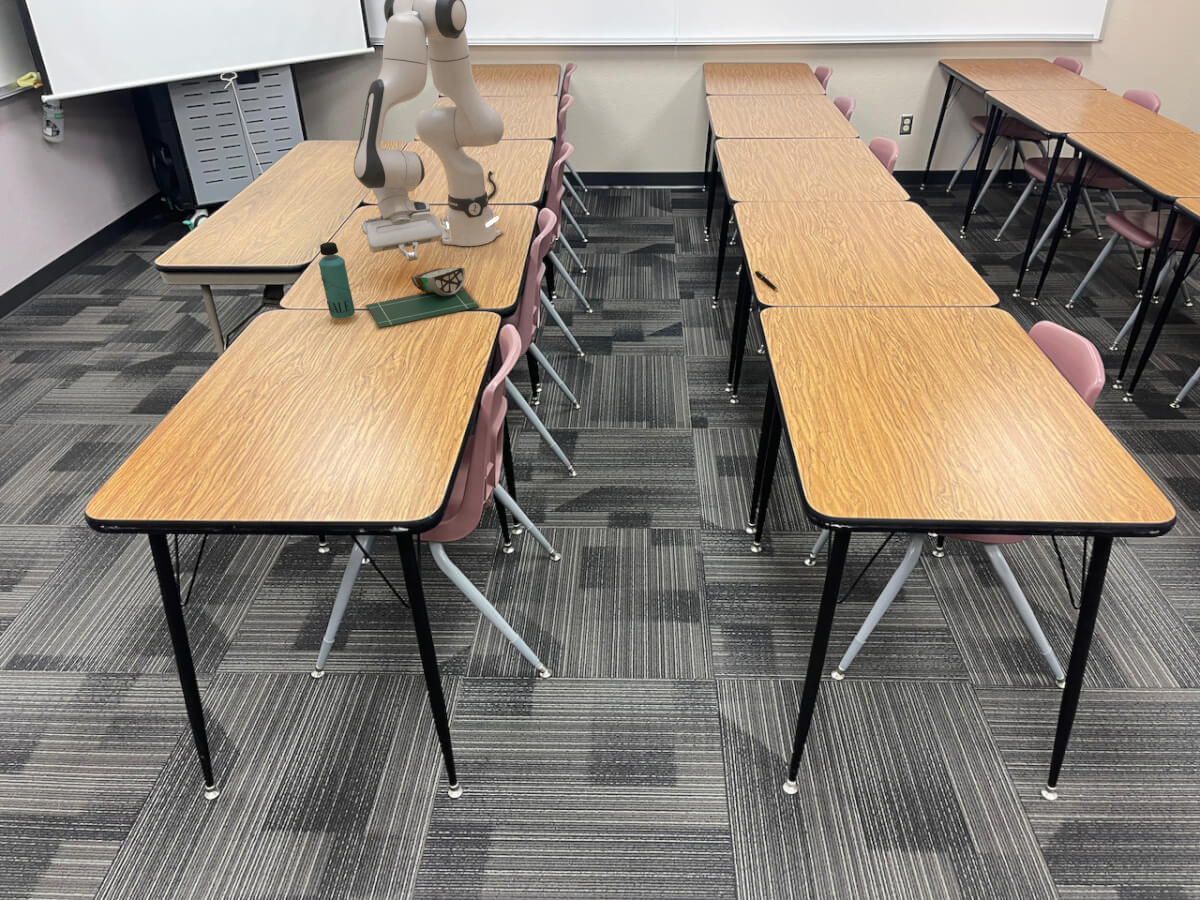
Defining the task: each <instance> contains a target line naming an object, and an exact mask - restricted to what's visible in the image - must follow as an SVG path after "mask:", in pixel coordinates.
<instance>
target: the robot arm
mask: <svg viewBox="0 0 1200 900" xmlns="http://www.w3.org/2000/svg"><path fill="white" fill-rule="evenodd" d="M383 15H384V20H385V21H386V25H385V30H384V31H385V33H384V38H383V46H382V47H383V48H382V63H381V64H382V65H381V69H380V73H379V75H378V77H377V79H375V80H374V81H372V82H371V84H370V86H369V87H368V88H369V89H368V92H367V96H366V101H365V106H364V113H363V118H362V124H361V130H360V137H359V142H358V147H357V150H356V153H355V156H354V160H353V172H354V175H355V177H356V179H357V180H358V181H359V183H361V185H363V186H364V187H365V188H366V189H368V190H369V189H370V190H371V189H372V193H373V195H374V197H375V198H376V200H377V208H378V211H379V214H380V216H375V217H373V218H372V217H371V218H370V217H369V218H365V219H364V220H363V221H362V223H361V225H360V227H361V230H362V233H363V234H364V235H366V242H367V247H368V250H369V251H370V252H371V253H381V252H386V251H392V250H397V249H398V252H399V253H400V254H401V255H402V256H403V257H405V260H406V262H407V263H408V262H413V261H418V259H419V256H418V253H417V252H418V248H419V245H423V244H425V245H426V244H431V243H435V242H439V241H442V244H443V245H452V246H453V245H454V246H458V247H459V246H460V247H477V246H483V245H486V244H488V243H491V242H493V241H494V240H496V238H497V237H499V236H500V235H502V231H501V230H500V229H499V228H497V226H496V221H498V220H499V216H496V217H495V212H494V209H493V208H492V207H491V206H489V199H490V198H491V197H492V196H494V194H495V193H496V190H497V185H496V183H495V182H494V181H493V180H492V178H491V175H493V172H492V171H491V170H490V171H488V174H487V178H488V181H489V182H490V183H492V186H493V190H492V191H491V193H490V194H489V195H488V192H487V191H486V183H485V174H484V173H485V172H484V168H483V167H482V164H481V163H480V162H479V161H478V160H477V159H475V158H473V157H471V156H469V155H468V154H467V153H466V152H465V150H464V148H485V147H491V146H496V145H498V144H499V143H500V142H501V140H502V139H503V136H504V131H505V123H504V120H503V118H502V116H501V114H500V112H499V111H497V109H495V108H494V107H492V106H491V105H490V104H489V103H488V102H487V101H486V100H485V98H484V97H483V96H482V95H481V93H480V91H479V89H478V88H477V85H476V83H475V79H474V73H473V68H472V63H471V62H472V61H471V56H470V55H471V54H470V47H469V44H468V43H469V42H468V38H467V34H466V30H465V27H466V24H467V19H468V16H467V15H468V14H467V8H466V4H465V2H464V1H463V0H384V5H383ZM428 57H429V64H430V69H431V76H432V83H433V86H434V87H435V89H436V90H437V91H438V92H439V93H440V94H442V95H443V96H446V97H447V98H449V99H450V100H451V101H452V102H453V103H454V105H455V106H444V105H443V106H439V105H438V106H432V107H427V108H424V109H423V108H422V109H421V110H420V111H419V113H418V115H416V119H415V130H416V131H415V132H416V134H417V136H418V138H419V140H420V141H421V142H422V143H423V144H424V145H426V146H427V147H428V148H430V149H431V150H432V151H433V152H434V153H435V155H436V156H437V157H438V159H439V161H440V162H441V164H442V166H443V169H444V172H445V173H444V174H445V177H446V182H447V188H448V189H447V190H448V194H447V206H448V207H447V208H446V210H445V211H444V215H443V216H441V217H440V219H438V218H437V216H436V214H435V213H434V212H432V211H431V205H430V203H428V202H427V201H418V200H414V199H413V200H411V199H410V197H409V193H411V192H413V191H414V190H415V189H417V188H418V187H419V186H420V185H421V184H422V182H423V181H424V179H425V175H426V172H425V166H424V163H423V160H422V159H421V156H420V155H419V154H418V153H417V152H415V151H412V150H404V149H389V148H382V147H381V143H382V137H383V132H384V124H385V120H386V117H387V116H386V115H387V113H388V112H389V110H390V109H392V108H393V107H395V106H396V105H399V104H402V103H405V102H408V101H411V100H413V99H415V98H417V97H418V96H419V95H420V94H421V93H422V92H423V90H424V89H425V87H426V84H427V80H428V79H427V77H428ZM439 220H440V221H439ZM408 247H411V249H412V250H413V251H412V252H408V251H407V250H406V248H408Z"/></svg>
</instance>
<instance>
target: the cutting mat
mask: <svg viewBox="0 0 1200 900" xmlns="http://www.w3.org/2000/svg"><path fill="white" fill-rule="evenodd" d="M366 307H367V309H368V311H369V312H370V314H371V316H372V318H373V319H374V321H375V322H376V324H377V326H378V327H379V329H385V328H389V327H390V328H391V327H394V326H400V325H403V324H410V323H412V322H413V323H414V322H418V321H422V320H428V319H432V318H433V319H434V318H437V317H442V316H446V315H451V314H456V313H460V312H465V311H470V310H474V309H475V310H476V309H479V308H480V306H479V305H478V304H477V302H476V301H475V300H474V299H473V298H472V297H471V296H470V294H469V293H468V292H467V291H466V290H465V289H464V288H463V287H462V286H461V288H460V289H459V290H458V291H457V292H456V293H454V294H452V295H448V296H441V295H438V294H437V293H435V292H424V293H419V294H414V295H409V296H404V297H399V298H393V299H389V300H384V301H379V302H375V303H369V304H366Z"/></svg>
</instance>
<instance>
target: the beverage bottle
mask: <svg viewBox="0 0 1200 900" xmlns="http://www.w3.org/2000/svg"><path fill="white" fill-rule="evenodd" d="M319 249H320V255H322V258H320V260H319V261H318V266H319V270H320V272H319V273H320V275H321V277H320V278H321V282H322V286H323V288H324V289H323V290H324V295H325V299H326V304H327V305H326V306H327V308H328V314H329V315H330V317H331V318H333V319H336V320H337V319H338V320H342V319H347V318H350V317H353V316H354V315H355V313H356V310H355V309H356V308H355V305H354V299H353V295H352V289H351V287H350V281H349V276H348V271H347V266H346V260H345V259H344V258H343V257H342V256H341V255H339V254H338V253H339V248H338V246H337V243H336V242H332V241H328V242H324V243H321V244H320V245H319Z"/></svg>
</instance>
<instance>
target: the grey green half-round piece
mask: <svg viewBox="0 0 1200 900" xmlns="http://www.w3.org/2000/svg"><path fill="white" fill-rule="evenodd" d="M465 277H466V271H465V267H463V266H460V267H438V268H436V267H435V268H434V269H429V270H426V271H424V272H421V273H418V274H415V275H412V276H410V278H411V281H412V283H413V285H414V286H415V287H416V288H417V289H418V290H420V291H422V292H426V293H428V292H435V293H437V294H438V295H441V296H448V295H452V294H454V293H456V292H457V291H458V290H459V289H460V288H461V287H462V286H463V284H464V282H465Z"/></svg>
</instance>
